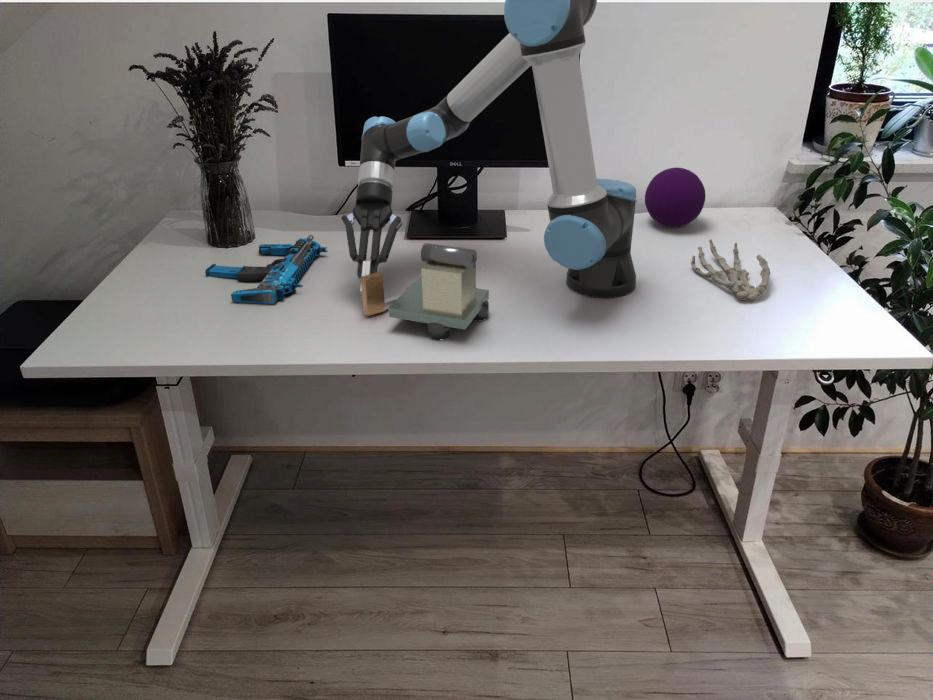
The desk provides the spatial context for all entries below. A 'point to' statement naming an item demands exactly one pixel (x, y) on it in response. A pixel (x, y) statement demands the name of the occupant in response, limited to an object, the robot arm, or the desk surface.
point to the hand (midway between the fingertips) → (365, 293)
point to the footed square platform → (444, 292)
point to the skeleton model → (734, 274)
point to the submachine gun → (272, 271)
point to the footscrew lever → (374, 294)
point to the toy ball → (675, 197)
